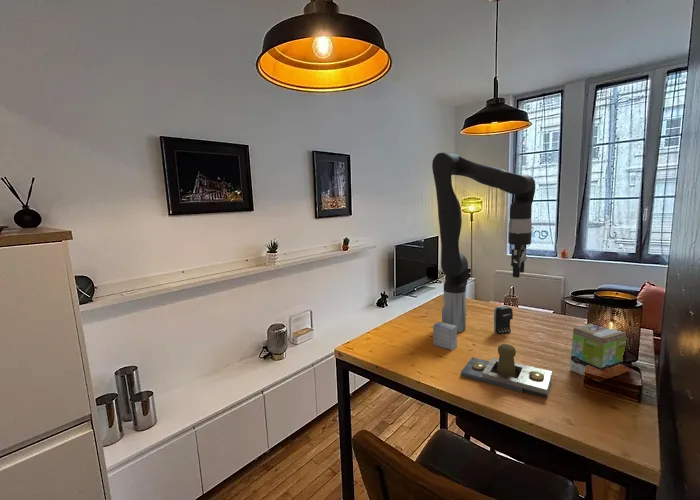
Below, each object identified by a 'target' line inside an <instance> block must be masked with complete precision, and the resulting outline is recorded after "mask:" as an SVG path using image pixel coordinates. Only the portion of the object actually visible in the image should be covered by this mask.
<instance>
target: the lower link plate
mask: <svg viewBox="0 0 700 500" xmlns="http://www.w3.org/2000/svg"><path fill="white" fill-rule="evenodd" d="M489 362H490V360H485V359H481V358H478V357H474V356H472V357H471V358H470V359H469V361H468V362H467V363H466V365H465V366H464V367H463V369H462V370H461V371H460V377H463V378H466V379H470V380H474V381H477V382H481V383H485V384H489V385H491V386H496V387H499V388H504V389H507V390H511V391H515V392H517V393H522V394H523V393H524V388H520V387H516V386H513V385H509V384H505V383H501V382H497V381H494V380H490V379H486V378H482V373H483V371H484V369H485V368H486V366H487V365H488V363H489ZM496 372H497V366H496V367H495V368H494V370H493V373H496ZM520 372H521V371H517V370H515V373H516V376H519V375H520Z"/></svg>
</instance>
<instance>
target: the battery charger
mask: <svg viewBox="0 0 700 500" xmlns="http://www.w3.org/2000/svg"><path fill="white" fill-rule="evenodd" d="M493 311H494V312H493V324H494V325H493V332H494V333H495V334H497V335H507V334H511V333H512V332H511V331H512V330H511V320H513V318H514V315H513V314H514V312H513V308H512V307H511V306H509V305H498V306H496V307H495V308H494V310H493Z"/></svg>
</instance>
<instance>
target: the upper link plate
mask: <svg viewBox="0 0 700 500" xmlns="http://www.w3.org/2000/svg"><path fill="white" fill-rule="evenodd" d="M489 361H490V362H489V363H488V365H487V366H486V368H485V369H484V371H483V373H482V378H486V379H490V380H494V381H497V382H501V383H505V384H509V385H513V386H516V387H520V388H524V391H523V393H524V392H525V393H528V394H531V395H532V394H533V395H537V396H540V397H542V398H543V397H544V398H548V397H549V396H548V395H549V392H550V389H551V385H552V377H553V371H552V370H548V369H543V368H539V367H535V366H531V365H526V364H521V363H517V362H514V364H515V370H517V371H521V372H520V375H518V377H516V378H513V377H509V376H505V375H501V374H497V373H496V372H494V373H493V370H494V368H495V367H496V366H498V361H499V358H495V357H491V358H490V360H489Z"/></svg>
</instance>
